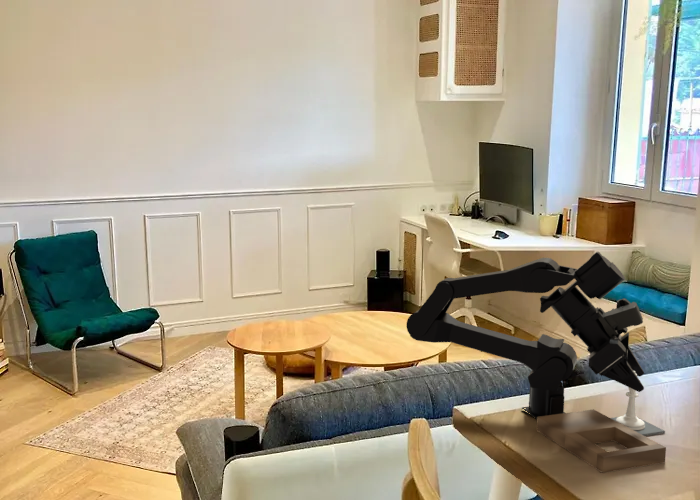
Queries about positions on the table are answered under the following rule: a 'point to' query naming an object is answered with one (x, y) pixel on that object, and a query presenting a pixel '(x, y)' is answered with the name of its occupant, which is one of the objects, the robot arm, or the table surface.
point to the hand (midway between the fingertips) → (642, 382)
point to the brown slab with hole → (600, 440)
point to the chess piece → (631, 413)
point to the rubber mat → (647, 429)
